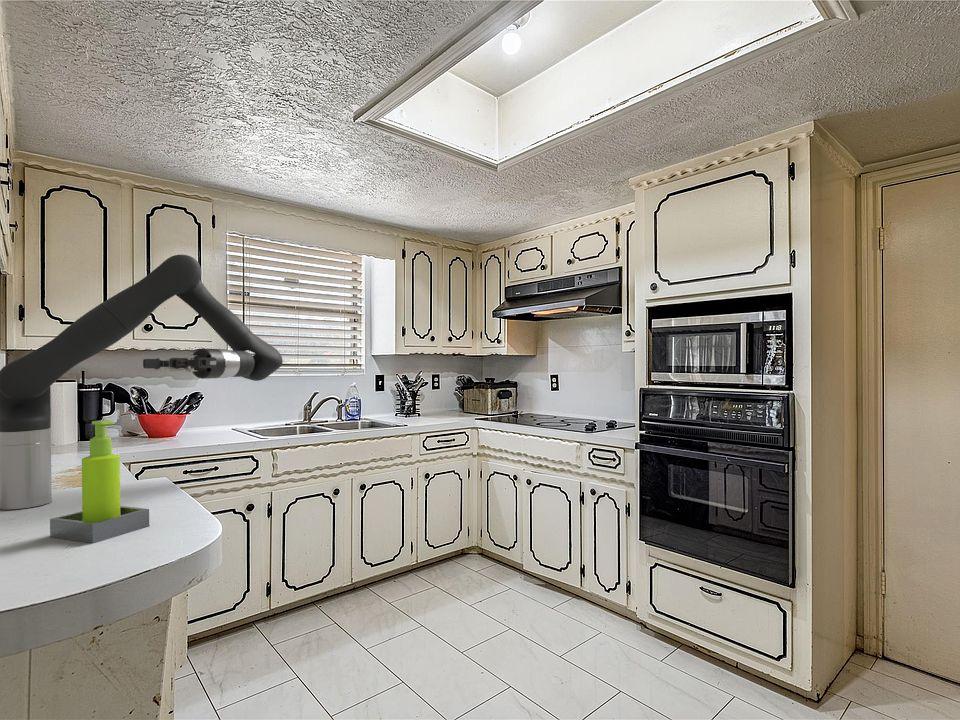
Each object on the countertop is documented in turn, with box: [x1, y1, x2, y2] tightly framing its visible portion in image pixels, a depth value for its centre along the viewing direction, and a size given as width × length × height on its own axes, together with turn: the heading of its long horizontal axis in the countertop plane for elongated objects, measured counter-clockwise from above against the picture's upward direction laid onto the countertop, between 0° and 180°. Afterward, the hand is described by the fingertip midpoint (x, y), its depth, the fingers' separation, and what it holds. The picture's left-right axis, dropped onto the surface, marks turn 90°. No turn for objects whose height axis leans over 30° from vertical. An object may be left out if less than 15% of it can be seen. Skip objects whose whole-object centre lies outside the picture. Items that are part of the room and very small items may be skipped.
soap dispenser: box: [81, 419, 121, 523], centre depth 102 cm, size 6×7×20 cm
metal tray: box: [49, 505, 150, 544], centre depth 102 cm, size 12×11×3 cm
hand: (157, 363), depth 123 cm, fingers open, 8 cm apart
